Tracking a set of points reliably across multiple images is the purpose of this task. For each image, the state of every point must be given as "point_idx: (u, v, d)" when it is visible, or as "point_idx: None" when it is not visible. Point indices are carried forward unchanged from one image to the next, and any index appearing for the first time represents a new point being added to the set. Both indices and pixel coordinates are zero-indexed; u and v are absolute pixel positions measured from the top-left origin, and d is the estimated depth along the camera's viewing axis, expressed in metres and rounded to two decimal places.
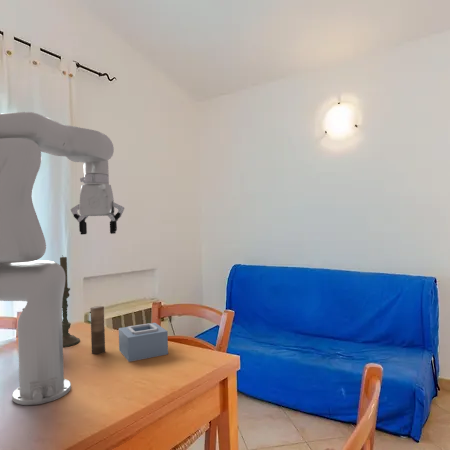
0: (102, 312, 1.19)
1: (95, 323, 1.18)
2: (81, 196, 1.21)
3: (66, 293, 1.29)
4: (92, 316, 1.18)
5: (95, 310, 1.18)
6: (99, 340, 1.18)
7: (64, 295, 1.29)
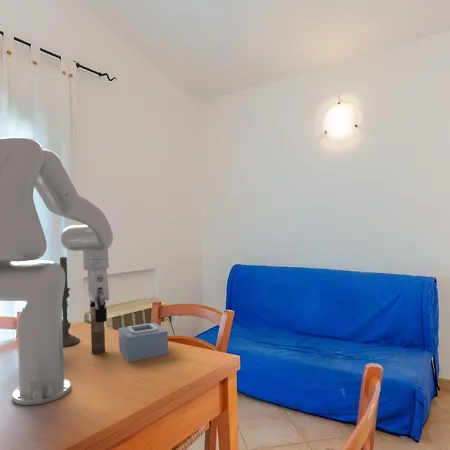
0: None
1: (95, 323, 1.18)
2: (107, 281, 1.18)
3: (66, 293, 1.29)
4: (92, 316, 1.18)
5: None
6: (99, 340, 1.18)
7: (64, 295, 1.29)
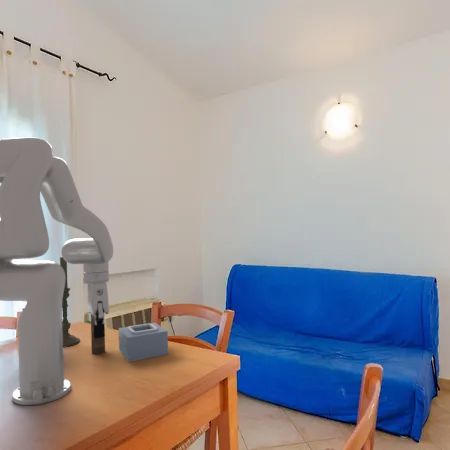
0: None
1: None
2: (107, 294, 1.18)
3: (66, 293, 1.29)
4: (92, 316, 1.18)
5: None
6: (99, 340, 1.18)
7: (64, 295, 1.29)
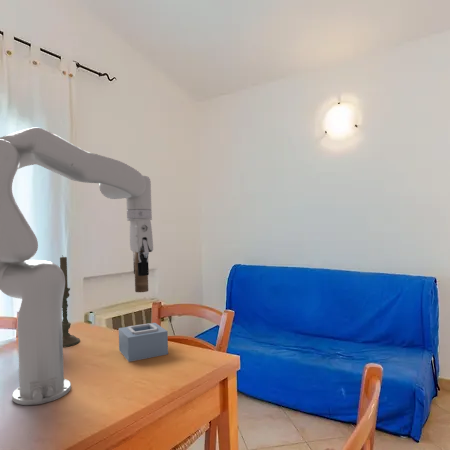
0: None
1: None
2: (151, 231, 1.16)
3: (66, 293, 1.29)
4: (136, 254, 1.17)
5: None
6: (143, 278, 1.17)
7: (64, 295, 1.29)
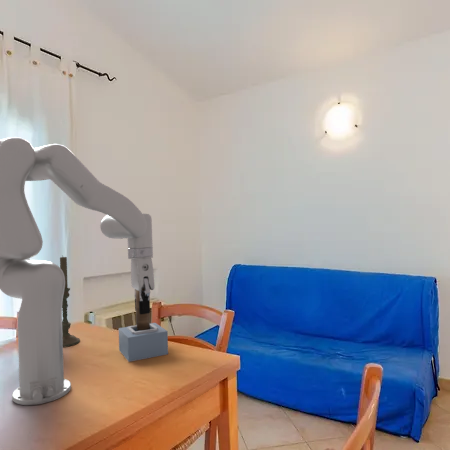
0: None
1: None
2: (152, 270, 1.16)
3: (66, 293, 1.29)
4: (137, 292, 1.17)
5: None
6: (145, 316, 1.17)
7: (64, 295, 1.29)
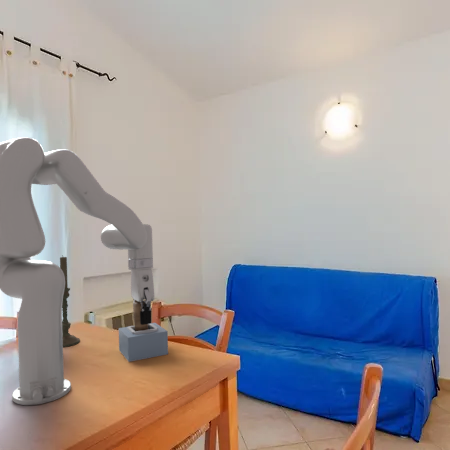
0: None
1: (138, 318, 1.16)
2: None
3: (66, 293, 1.29)
4: (135, 312, 1.16)
5: (138, 306, 1.16)
6: None
7: (64, 295, 1.29)
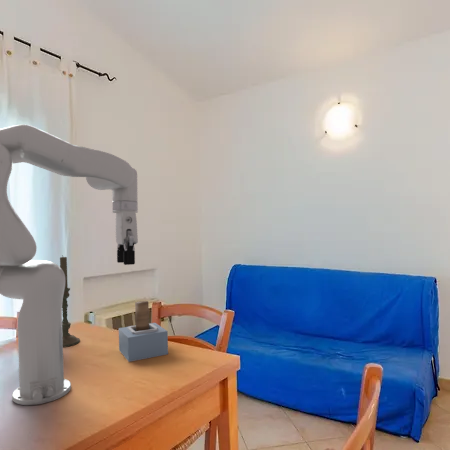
0: (147, 307, 1.18)
1: (140, 318, 1.17)
2: (136, 223, 1.15)
3: (66, 293, 1.29)
4: (137, 311, 1.17)
5: (140, 305, 1.17)
6: None
7: (64, 295, 1.29)
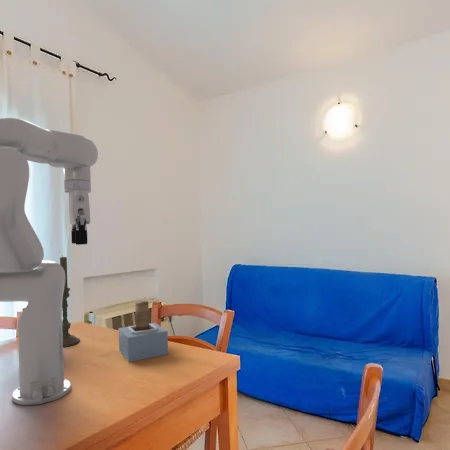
0: (147, 307, 1.18)
1: (140, 318, 1.17)
2: None
3: (66, 293, 1.29)
4: (137, 311, 1.17)
5: (140, 305, 1.17)
6: None
7: (64, 295, 1.29)
